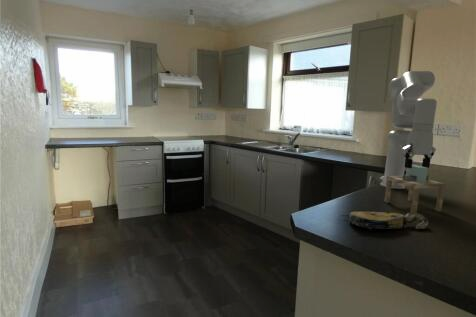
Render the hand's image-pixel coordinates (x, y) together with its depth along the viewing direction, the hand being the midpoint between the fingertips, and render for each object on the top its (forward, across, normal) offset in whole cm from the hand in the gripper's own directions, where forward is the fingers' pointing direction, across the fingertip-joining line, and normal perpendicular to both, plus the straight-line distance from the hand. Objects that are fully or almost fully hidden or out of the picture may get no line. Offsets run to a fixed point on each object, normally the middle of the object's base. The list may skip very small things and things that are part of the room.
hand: (416, 167), depth 130 cm
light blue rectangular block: (+7, 0, 0) cm, 7 cm away
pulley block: (+18, +30, +18) cm, 39 cm away
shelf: (+17, 0, 0) cm, 17 cm away
